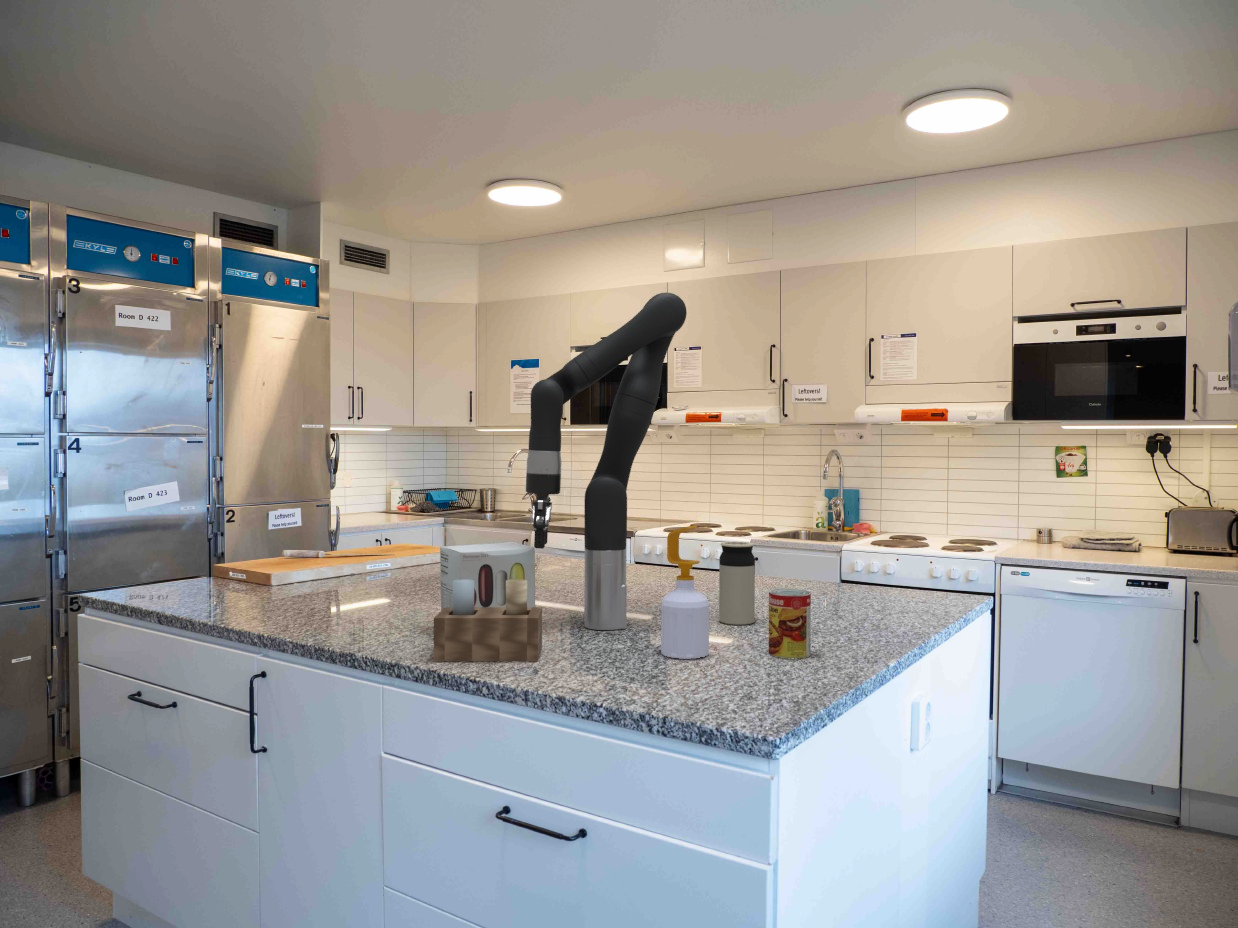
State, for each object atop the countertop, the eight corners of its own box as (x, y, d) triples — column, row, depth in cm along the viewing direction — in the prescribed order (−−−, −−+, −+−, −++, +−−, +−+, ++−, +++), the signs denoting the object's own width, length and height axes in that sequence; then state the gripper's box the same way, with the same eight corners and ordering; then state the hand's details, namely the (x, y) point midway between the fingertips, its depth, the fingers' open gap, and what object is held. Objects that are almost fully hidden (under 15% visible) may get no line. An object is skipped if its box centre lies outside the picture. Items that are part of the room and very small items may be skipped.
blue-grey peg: (475, 618, 161) (475, 579, 160) (472, 622, 157) (472, 582, 156) (454, 618, 160) (454, 579, 160) (450, 622, 156) (451, 582, 156)
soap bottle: (695, 662, 153) (696, 528, 153) (652, 655, 158) (652, 525, 158) (716, 652, 161) (717, 525, 161) (674, 646, 166) (675, 522, 166)
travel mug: (738, 627, 185) (739, 545, 185) (711, 621, 191) (712, 542, 191) (761, 622, 191) (762, 543, 190) (734, 617, 196) (735, 540, 196)
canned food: (765, 649, 164) (766, 588, 164) (806, 649, 164) (806, 588, 164) (771, 659, 156) (772, 594, 156) (814, 659, 156) (814, 595, 156)
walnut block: (542, 647, 164) (542, 607, 164) (537, 661, 153) (538, 617, 153) (444, 647, 164) (444, 607, 164) (433, 661, 153) (433, 617, 153)
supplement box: (459, 640, 170) (458, 552, 170) (439, 629, 182) (438, 546, 181) (538, 630, 179) (536, 546, 178) (514, 620, 190) (512, 540, 190)
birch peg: (527, 618, 161) (528, 579, 161) (526, 622, 157) (526, 582, 157) (506, 618, 161) (507, 579, 161) (504, 622, 157) (504, 582, 157)
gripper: (559, 473, 176) (556, 550, 176) (562, 471, 190) (559, 543, 190) (523, 471, 175) (520, 549, 176) (529, 470, 190) (526, 542, 190)
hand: (540, 546), depth 183 cm, fingers open, 8 cm apart
